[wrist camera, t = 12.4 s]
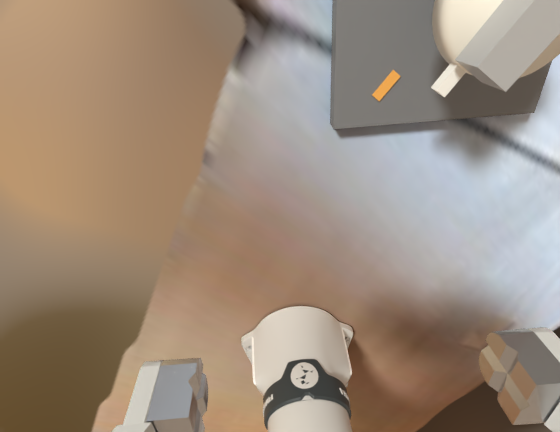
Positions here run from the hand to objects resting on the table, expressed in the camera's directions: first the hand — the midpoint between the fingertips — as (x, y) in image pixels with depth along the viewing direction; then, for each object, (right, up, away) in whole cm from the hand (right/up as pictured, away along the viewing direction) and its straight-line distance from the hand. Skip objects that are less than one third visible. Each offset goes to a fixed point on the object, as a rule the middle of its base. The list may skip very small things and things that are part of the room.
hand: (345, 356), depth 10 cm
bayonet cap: (+15, +20, +16) cm, 29 cm away
